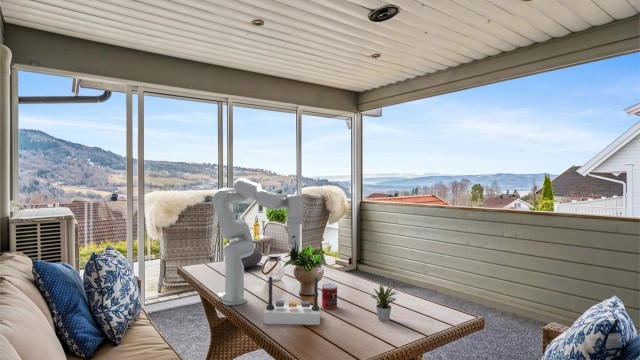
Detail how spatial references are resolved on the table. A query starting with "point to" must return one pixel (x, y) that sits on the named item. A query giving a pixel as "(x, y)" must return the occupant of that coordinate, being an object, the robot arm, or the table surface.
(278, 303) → the left button
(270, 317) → the strip
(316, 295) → the right cord
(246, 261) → the flattened ellipsoid
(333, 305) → the canned food
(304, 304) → the right button
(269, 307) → the left cord
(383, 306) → the house plant
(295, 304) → the middle button
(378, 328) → the table surface
